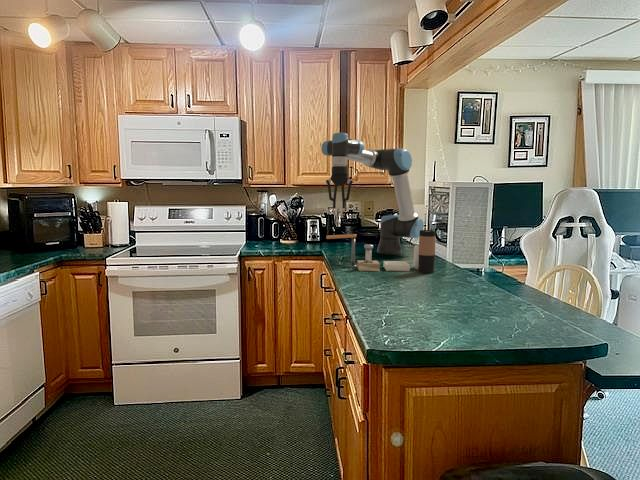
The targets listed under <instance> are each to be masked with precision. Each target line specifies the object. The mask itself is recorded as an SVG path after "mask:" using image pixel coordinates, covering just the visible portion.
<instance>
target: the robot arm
mask: <svg viewBox="0 0 640 480" xmlns="http://www.w3.org/2000/svg"><path fill="white" fill-rule="evenodd" d="M320 150H321V153H322V154H323V155H324V156H328V157H330V156H331V165H332V167H331V176H330V178H328V179H326V180H325V183H326V185H327V191H328V199H329V201H332V207H333V209H334V212H335V213H334V215H335V216H337V215H338V201H337V193H338V186H340V188H341V201H340V216H343V209H345V208H346V202H347V201H349V199H350V196H351V195H350V193H351V189H352V184H353V183H354V181H353V179H350V178H349V176H348V161H353V162H356V163H359V164H360V163H361V164H363V165H364V166H366V167H369V168H371V169H375V170H380V171H387V173H388V176H389V177H391V178H392V179H391V180H392V184H393V187H394V192H395V193H394V194H395V197H396V203H397V208H398V213H399V214H394V215H392V214H391V215H383V216H381V218H380V238H379V239H380V240H379V242H378V246H377V249H376V253H377V254H381V255H401V254H403V249H402V244H401V240H400V239H401V238H409V239H419V236H420V235H419V234H420V230H424V227H425V225H424V223H425V222H424V220H423V219H422V218H421V217H420V218H419V214H418V213H417V212H416V211H415V208H414V203H413V197H412V191H411V187H410V181H409V176H408V174H409V172H410V169H411V167H412V163H413V158H412V154H411V153H410V151H409V150H408V149H406V148H400V147H399V148H398V147H397V148H387V149H386V148H384V149H371V148H369V149H365V144H364V142H363V141H362V140H361V139H357V138H349V134H348V133H346V132H336V133H335V132H334V133H333V134H332V139H331V140H326V141H325V140H324V141H323V142H322V144H321V149H320ZM346 182H347V184H348V186H347V190H346V191H347V192H346V194H345V184H346ZM331 183H333V185H334V187H333V188H334V191H333V196H332V190H331V189H332V188H331ZM345 195H346V196H345Z"/></svg>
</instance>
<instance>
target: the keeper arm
mask: <svg viewBox="0 0 640 480" xmlns="http://www.w3.org/2000/svg"><path fill="white" fill-rule="evenodd" d="M325 236H326V237H325V238H326V239H327V240H331V239H348V238H349V239H352V238H357V233H350V234H335V235H333V234H332V235H325ZM326 239H325V240H326Z"/></svg>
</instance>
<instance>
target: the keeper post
mask: <svg viewBox="0 0 640 480" xmlns="http://www.w3.org/2000/svg"><path fill="white" fill-rule="evenodd" d="M350 252H351V258H350V261H351V262H350V264H349V265H348V267H350V268H356V267H357V264H356V237H351V251H350Z"/></svg>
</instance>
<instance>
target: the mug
mask: <svg viewBox="0 0 640 480" xmlns="http://www.w3.org/2000/svg"><path fill="white" fill-rule="evenodd" d="M413 267H414V269H416V270H419V244H418V245H417V244H416V245H414V246H413Z"/></svg>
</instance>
